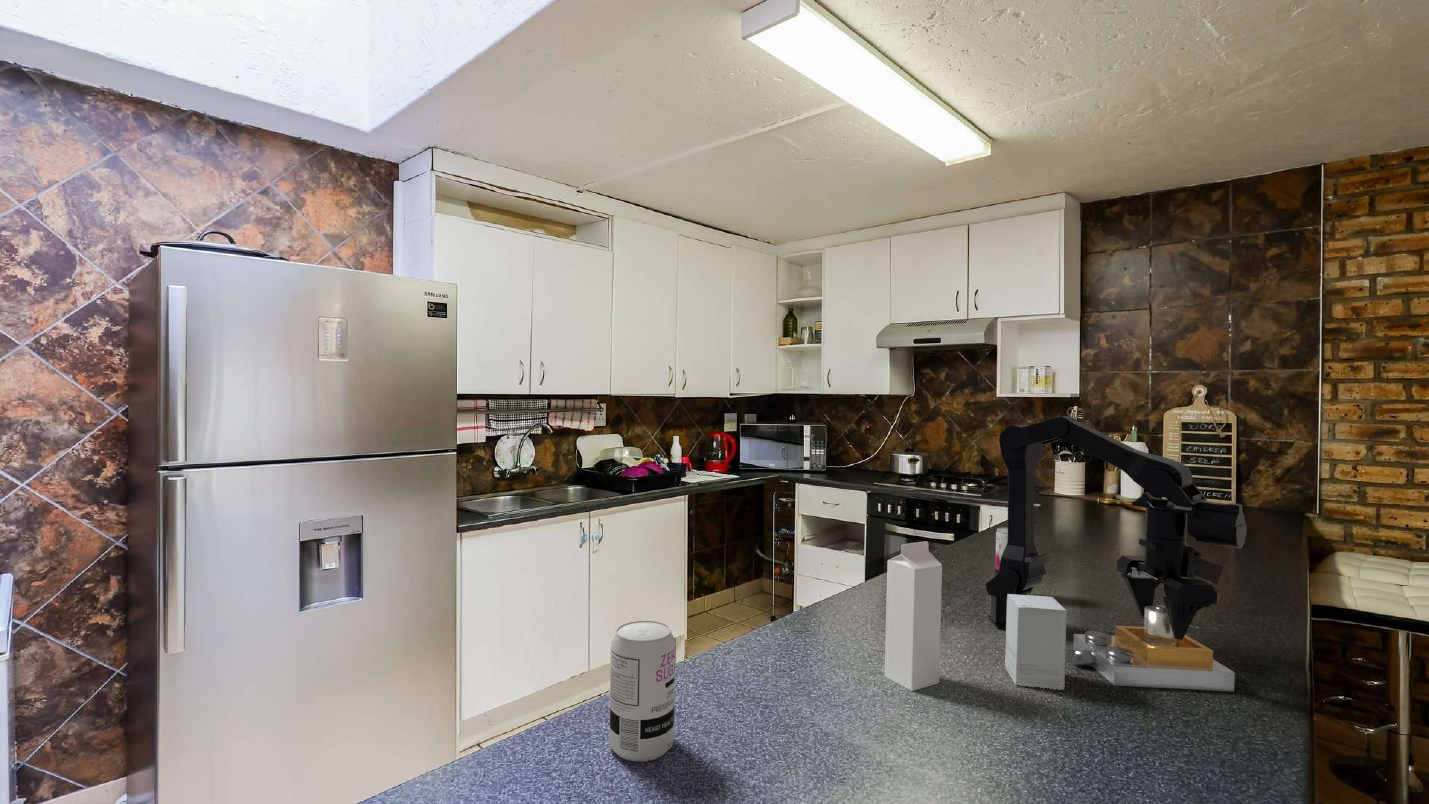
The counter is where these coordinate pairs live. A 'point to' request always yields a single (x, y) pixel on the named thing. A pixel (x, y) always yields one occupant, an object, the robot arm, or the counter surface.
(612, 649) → the supplement can
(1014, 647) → the supplement box
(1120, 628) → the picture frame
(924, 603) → the milk
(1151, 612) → the spout can
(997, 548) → the beverage can
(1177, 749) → the counter surface
